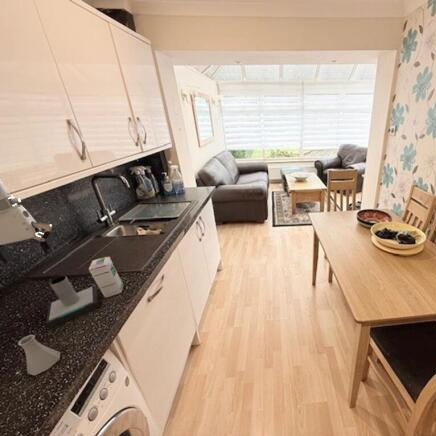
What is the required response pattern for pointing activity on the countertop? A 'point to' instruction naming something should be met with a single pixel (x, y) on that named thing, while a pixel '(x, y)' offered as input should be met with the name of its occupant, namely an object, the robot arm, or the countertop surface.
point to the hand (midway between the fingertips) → (29, 255)
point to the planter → (64, 290)
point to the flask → (38, 355)
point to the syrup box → (106, 276)
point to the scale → (72, 307)
